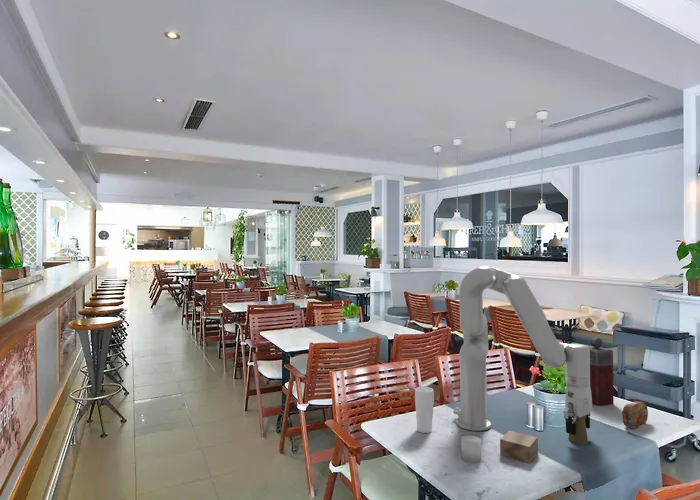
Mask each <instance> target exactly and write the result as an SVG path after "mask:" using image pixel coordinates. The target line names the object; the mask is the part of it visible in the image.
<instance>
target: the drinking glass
mask: <svg viewBox="0 0 700 500" xmlns="http://www.w3.org/2000/svg"><path fill="white" fill-rule="evenodd" d="M434 395H435V393H434V389H433V388H432V387H428V386H418V387H415V389H414V403H415V404H414V405H415V406H414V407H415V418H416V429H417V432H419V433H423V434H429V433H431V432H432V431H433V416H434V403H435V401H434V400H435V399H434V398H435V396H434Z"/></svg>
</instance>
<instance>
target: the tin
mask: <svg viewBox="0 0 700 500" xmlns="http://www.w3.org/2000/svg"><path fill="white" fill-rule="evenodd" d="M621 414H622V423H623V425H624V427H626V428H630V429H633V430H635V429H638V428H639V427H642V426H644V425H646V423H647V420H648V417H649V411H648V405H647V404H646V403H645V402H644V401H639V400H638V401H637V400H636V401H635V400H634V401H632V402H629V403H627V404H625V405H624V406H623V408H622V411H621Z"/></svg>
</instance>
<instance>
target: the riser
mask: <svg viewBox="0 0 700 500" xmlns="http://www.w3.org/2000/svg"><path fill="white" fill-rule="evenodd" d="M499 452H500V453H499V455H500V456H503V457H505V458H510V459H513V460H517V461H521V462H524V463H527V464H530V463H531V462H533V460H534V458H536V456H537V455H538V453H539V437H537V436H535V435H534V436H533V435H530V434H525V433H522V432H517V431H514V430H508V431H507V432H506V433H505V434H504V435H502V437H501V438H499Z"/></svg>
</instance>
